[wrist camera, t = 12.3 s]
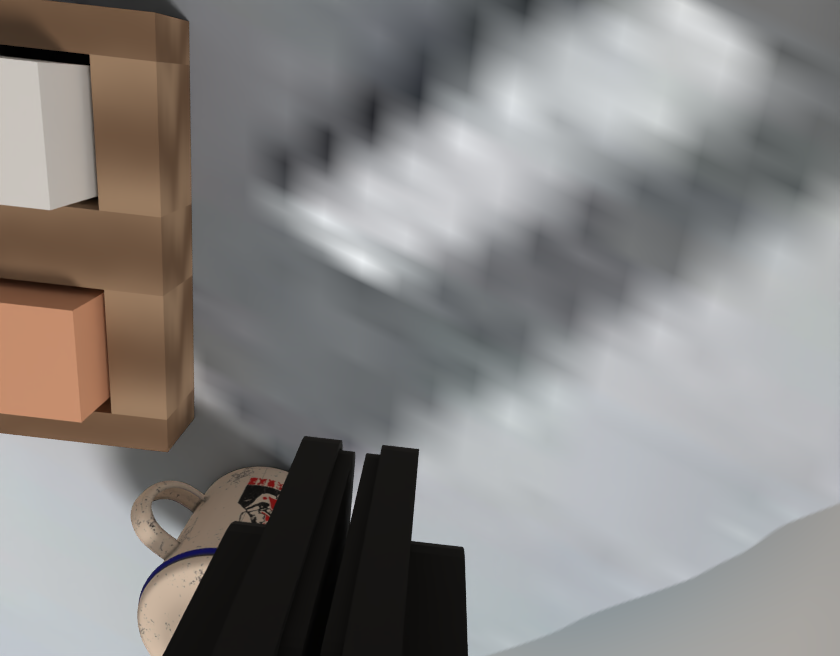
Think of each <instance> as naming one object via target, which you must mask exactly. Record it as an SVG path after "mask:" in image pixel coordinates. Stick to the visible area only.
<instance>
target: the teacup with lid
mask: <svg viewBox="0 0 840 656" xmlns="http://www.w3.org/2000/svg"><path fill="white" fill-rule="evenodd" d="M287 475H288V472H286V471H283V470H280V469H276V468H271V467H247V468H242V469H239V470H235V471H233V472H230V473H228V474H226V475H224V476H223V477H221V478H220V479H218V480H217V481H216V482H215V483H213V485H212V486H211V487H210V488H209V489H208V490H207V492H206V493H205V495H204V494H202V493H201V492H200V491H198V490H197V489H195V488H194V487H192V486H190V485H188V484H186V483H183V482H179V481H162V482H159V483H156V484H154V485H152V486H150V487H149V488H147V489H146V490H145V491H144V492H143V493H142V494H141V495H140V496H139V497H138V498H137V499H136V501H135V502H134V504H133V506H132V510H131V522H132V525H133V528H134V531H135V533H136V534H137V536H138V537H139V539H140V540H141V541H142V542H143V543H144V544H145V545H146V546H147V547H148V548H149V549H150V550H151V551H153V552H154V553H155V554H157V555H158V556H159V557H161V558H162V559H164V562H163V563H162V564H161V565H160V566H159V567H157V568H156V569H155V570H154V571H153V572H152V574H151V575H150V576H149V578H148V579H147V581H146V582H145V584H144V586H143V589H142V591H141V594H140V598H139V604H138V614H137V618H138V627H139V631H140V635H141V638H142V641H143V643H144V645H145V647H146V649H147V650H148V652H149V653H150V655H151V656H162V655H163V653H164V651H165V650H166V648H167V646H168V644H169V642H170V640H171V638H172V636H173V634H174V632H175V630H176V628H177V626H178V624H179V622H180V620H181V618H182V616H183V614H184V612H185V610H186V608H187V606H188V604H189V602H190V600H191V598H192V596H193V595H194V593H195V591H196V589H197V587H198V585H199V583H200V581H201V579H202V577H203V575H204V573H205V571H206V569H207V567H208V565H209V563H210V561H211V559H212V557H213V555H214V553H215V551H216V549H217V547H218V545H219V543H220V541H221V540H222V538H223V536H224V534H225V532H226V530H227V528H228V527H229V525H230V524H231V523H232V522H234V521H241V522H250V523H259V524H267V522H268V520H269V517H270V515H271V513H272V510H273V508H274V506H275V503H276V501H277V498H278V496H279V494H280V491H281V489H282V487H283V484H284V482H285V479H286V477H287ZM158 499H170V500H173V501H176V502H178V503H180V504H182V505H183V506H185V507H186V508H188V509H189V510H190V511H192V512H193V514H192V516H191V518H190V519H189V521H188V522H187V524H186V526H185V527H184V529H183V531H182V532H181V534H180V536H179V537H178V539H177V540H176V539H175V538H173V537H172V536H171V535H169V534H168V533H167V532H166V531H165V530H163V529H162V528H161V527H160V526H159V524H158V523H157V522H156V520H155V518H154V516H153V513H152V509H151V505H152V501H155V500H158Z"/></svg>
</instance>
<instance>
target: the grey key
mask: <svg viewBox="0 0 840 656" xmlns="http://www.w3.org/2000/svg"><path fill="white" fill-rule="evenodd" d="M96 196H98V184H97V168H96V151H95V135H94V119H93V102H92V86H91V70H90V65H82V64H73V63H64V62H55V61H47V60H38V59H29V58H20V57H11V56H2V55H0V205H8V206H17V207H26V208H35V209H44V210H53V209H56V208H59V207H63V206H66V205H69V204H73V203H76V202H80V201H83V200H86V199H90V198H93V197H96Z"/></svg>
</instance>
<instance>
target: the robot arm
mask: <svg viewBox="0 0 840 656" xmlns="http://www.w3.org/2000/svg"><path fill="white" fill-rule="evenodd" d="M418 455H419V449H413V448H404V447H396V446H387V445H382V449H381V454H380V455H378V454H369V453H367V454H366V457H365V461H364V465H363V470H362V474H361V478H360V483H359V487H358V491H357V496H356V500H355V505H354V509H353V513H352V518H351V522H350V516H351V504H352V491H353V479H354V467H355V452H352V451H343V450H342V440H334V439H326V438H317V437H308V436H304V438H303V439H302V442H301V444H300V446H299V449H298V451H297V453H296V456H295V458H294V461H293V463H292V465H291V468H290V470H289V472H288V475H287V477H286V479H285V482H284V484H283V487H282V489H281V491H280V494H279V496H278V498H277V501H276V503H275V506H274V508H273V510H272V513H271V515H270V517H269V520H268V522H267V524H259V523H250V522H241V521H234V522H232V523H231V524H230V525H229V527H228V528H227V530H226V532H225V534H224V536H223V538H222V540H221V541H220V543H219V545H218V547H217V549H216V551H215V553H214V555H213V557H212V559H211V561H210V563H209V565H208V567H207V569H206V571H205V573H204V575H203V577H202V579H201V581H200V583H199V585H198V587H197V589H196V591H195V593H194V595H193V596H192V598H191V600H190V602H189V604H188V606H187V608H186V610H185V612H184V614H183V616H182V618H181V620H180V622H179V624H178V626H177V628H176V630H175V632H174V634H173V636H172V638H171V640H170V642H169V644H168V646H167V648H166V650H165V651H164V653H163V655H162V656H468V644H467V613H466V581H465V555H464V548H463V547H458V546H450V545H441V544H432V543H424V542H415V541H411V536H412V525H413V513H414V502H415V490H416V478H417V467H418Z"/></svg>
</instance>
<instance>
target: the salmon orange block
mask: <svg viewBox="0 0 840 656" xmlns="http://www.w3.org/2000/svg"><path fill="white" fill-rule="evenodd" d="M109 397H110V380H109V363H108V347H107V331H106V314H105V298H104V290H103V289H94V288H85V287H76V286H68V285H59V284H50V283H41V282H32V281H24V280H15V279H6V278H0V413H2V414H11V415H19V416H28V417H37V418H46V419H54V420H63V421H72V422H80V423H82V422H83V421H84V420H85V419H86V418H87V417H88V416H89V415H90V414H92V413H93V412H94V411H95V410H96V409H97V408H98V407H99V406H100V405H102V404H103V403H104V402H105V401H106V400H107V399H108V398H109Z"/></svg>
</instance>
